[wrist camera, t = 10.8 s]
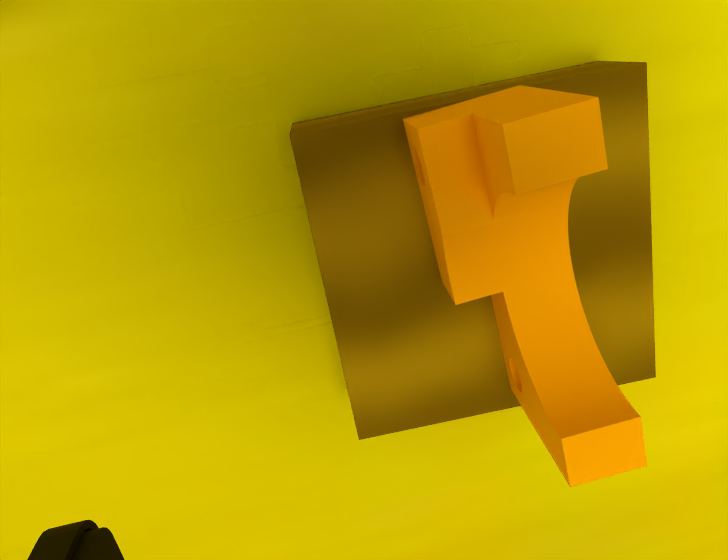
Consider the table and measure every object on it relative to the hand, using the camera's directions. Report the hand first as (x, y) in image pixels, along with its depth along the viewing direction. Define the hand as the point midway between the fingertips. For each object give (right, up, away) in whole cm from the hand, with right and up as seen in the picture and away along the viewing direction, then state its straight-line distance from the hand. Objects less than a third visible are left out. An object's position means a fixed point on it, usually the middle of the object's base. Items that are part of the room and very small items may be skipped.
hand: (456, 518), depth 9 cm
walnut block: (+3, +5, +20) cm, 21 cm away
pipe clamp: (+4, +4, +16) cm, 17 cm away
